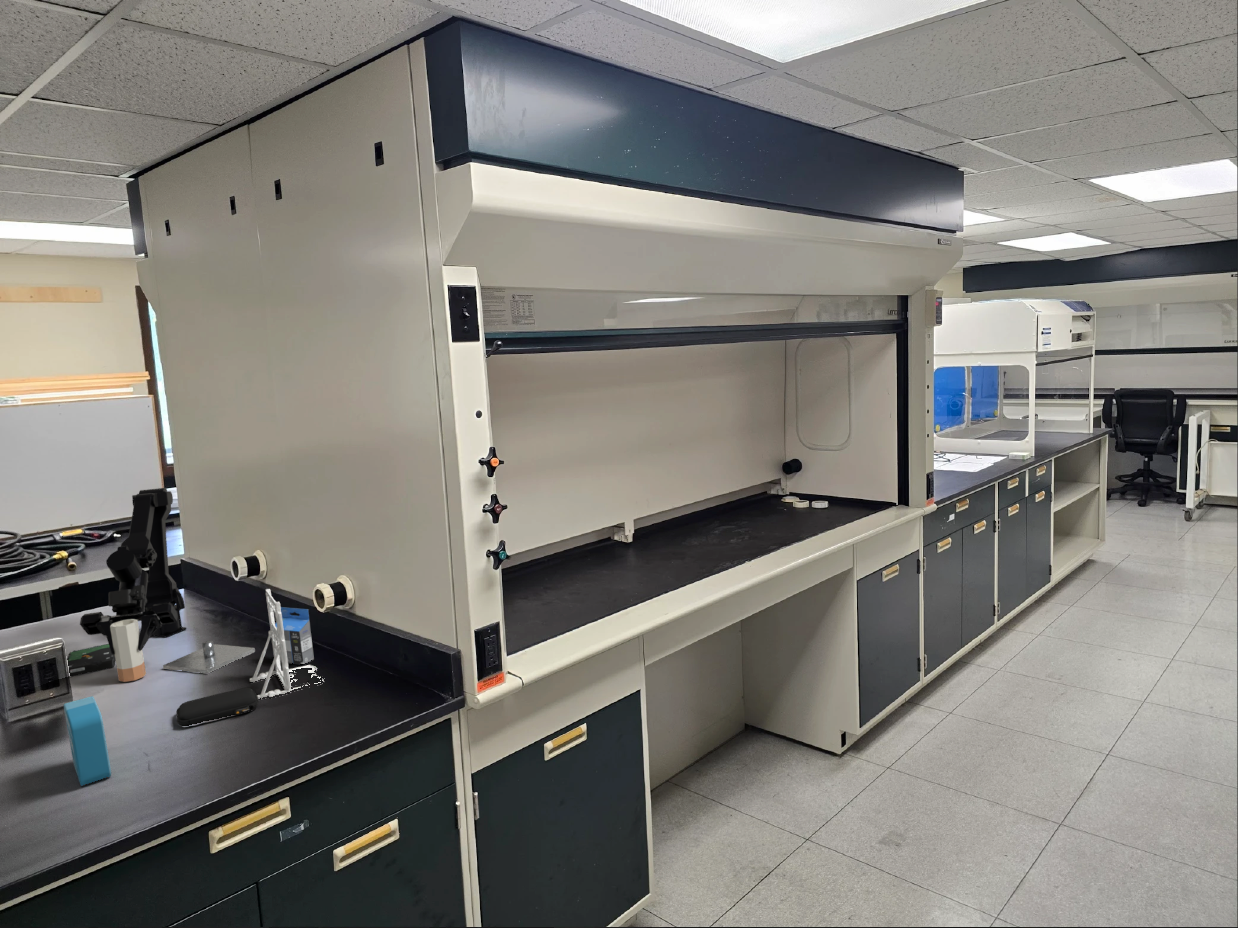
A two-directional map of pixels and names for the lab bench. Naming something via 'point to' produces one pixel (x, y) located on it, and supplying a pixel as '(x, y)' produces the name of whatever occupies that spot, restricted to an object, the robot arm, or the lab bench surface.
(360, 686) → the lab bench surface
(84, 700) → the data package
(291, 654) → the label tape cartridge
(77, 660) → the disk drive
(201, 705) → the carrying case or bag
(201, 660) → the pin plate
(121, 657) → the sleeve
